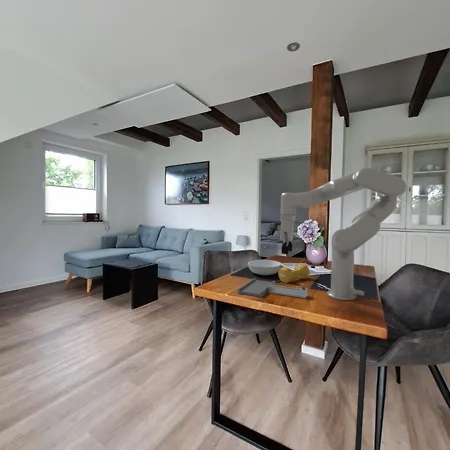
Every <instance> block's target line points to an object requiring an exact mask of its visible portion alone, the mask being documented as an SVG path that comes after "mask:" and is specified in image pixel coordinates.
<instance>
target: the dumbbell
mask: <svg viewBox="0 0 450 450" xmlns="http://www.w3.org/2000/svg"><path fill="white" fill-rule="evenodd" d="M277 273H278V277H279V280H280V281H281V282H283V283H286V284H287V283H290V282H291V281H292V279H293V277H297V278H299V279H303V280H305V279H308V278H309V277H310V273H311V271H310V268H309V267H308V265H307V264H302V263H300V264H298V265H297V266H296V268H295V269H294V270H291V268H289V267H286V266H285V267H283V266H281V268H280V270H279V271H278V272H277Z"/></svg>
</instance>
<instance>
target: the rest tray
mask: <svg viewBox="0 0 450 450" xmlns="http://www.w3.org/2000/svg"><path fill="white" fill-rule="evenodd" d="M270 284H271V285H276V281H275V280H272V281H266V280H257V279H256V278H255V277H254V278H252V279H251V280H249V281H248V282H246V283H245V284H243V285H242V286H240V287H239V288H238V289H237V293H238V294H240V295H247V296H253V297H259V298H262V297H264V296H265V295H266V294H267V293H268V286H270Z"/></svg>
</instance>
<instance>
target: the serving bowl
mask: <svg viewBox="0 0 450 450" xmlns="http://www.w3.org/2000/svg"><path fill="white" fill-rule="evenodd" d="M247 266H248V269H249V270H250V271H251V272H252V273H254V274H256V275H259V276H270V275H275V274H277V273H279V270H280V269H281V268H282V262H280V261H276V260H270V259H254V260H251V261H248V262H247Z"/></svg>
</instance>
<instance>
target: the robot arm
mask: <svg viewBox="0 0 450 450" xmlns="http://www.w3.org/2000/svg"><path fill="white" fill-rule="evenodd" d="M364 189H367V190H370V191H373V192H376V199H375V201H374V202H373V203H372V204H370V205H369V206H368V207H367V208H366V209H364V210H363V211H362V212H360V213H359V214H358V215H356V216H355V217H354V218H353V219H352V221H351V224H349V225H348V226H347V227H346V228H340V229H337V230H336V231H335V232H333V234H332V236H331V242H330V243H331V270H330V271H331V272H330V273H331V274H330V275H331V276H330V289H329V290H328V291H327V292H326V295H327V296H329V297H330V298H333V299H335V300H339V301H340V300H341V301H353V300H356V299H357V296H361V297H363V296H365V291H362V290H360V289H356V288H355V286H354V276H355V275H354V267H355V266H354V265H355V251H356V250H358V249H359V248H361V246H363V245H364V244H366V243H367V242H368V241H370V240H371V239H372V238H373V237H374V236H376V235H377V234H378V232H379V231H380V229H381V223H383V222H384V221H385V220H386V219H387V218H389V217H390V215H392V214H393V212H394V211H395V209H396V207H397V205H398V197H400V196H402V195H403V194H404V193H405V192H406V190H407V183H406V181H405V180H404V179H403V178H401V177H400V176H397V175H394V174H391V173H388V172H384V171H382V170H378V169H375V168H372V167H363V168H360V169H358V170H357V171H353V172H351V173H349V174H346V175H344V176H341V177H339V178H336V179H333V180H330V181H328V182H326V183H325V184H323V185H321V186H319V187H317V188H314V189H312V190H309V191H303V192H283V193H281V195H280V216H279V218H280V219H279V221H281V223H280V224H281V225H280V232H279V233H280V234H279V241H280V242H281V248H280V249H281V254H282V255H289V252H292V251H293V239H294V229H295V225H294V224H295V222H296V221H297V208H303V209H307V208H310V207H313V206H316V205H318V204H321V203H324V202H328V201H333V200H336V199H339V198H342V197H345V196H347V195H350V194H352V193H356V192H359V191H362V190H364Z"/></svg>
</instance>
